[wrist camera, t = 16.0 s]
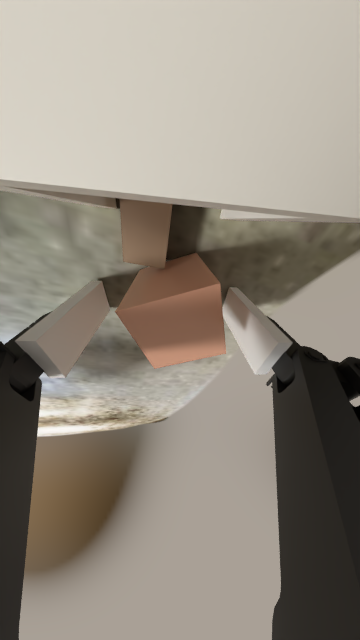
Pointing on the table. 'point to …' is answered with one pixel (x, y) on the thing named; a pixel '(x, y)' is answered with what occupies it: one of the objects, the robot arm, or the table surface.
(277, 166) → the tunnel
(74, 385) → the table surface
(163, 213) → the rod
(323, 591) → the robot arm
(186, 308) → the block
